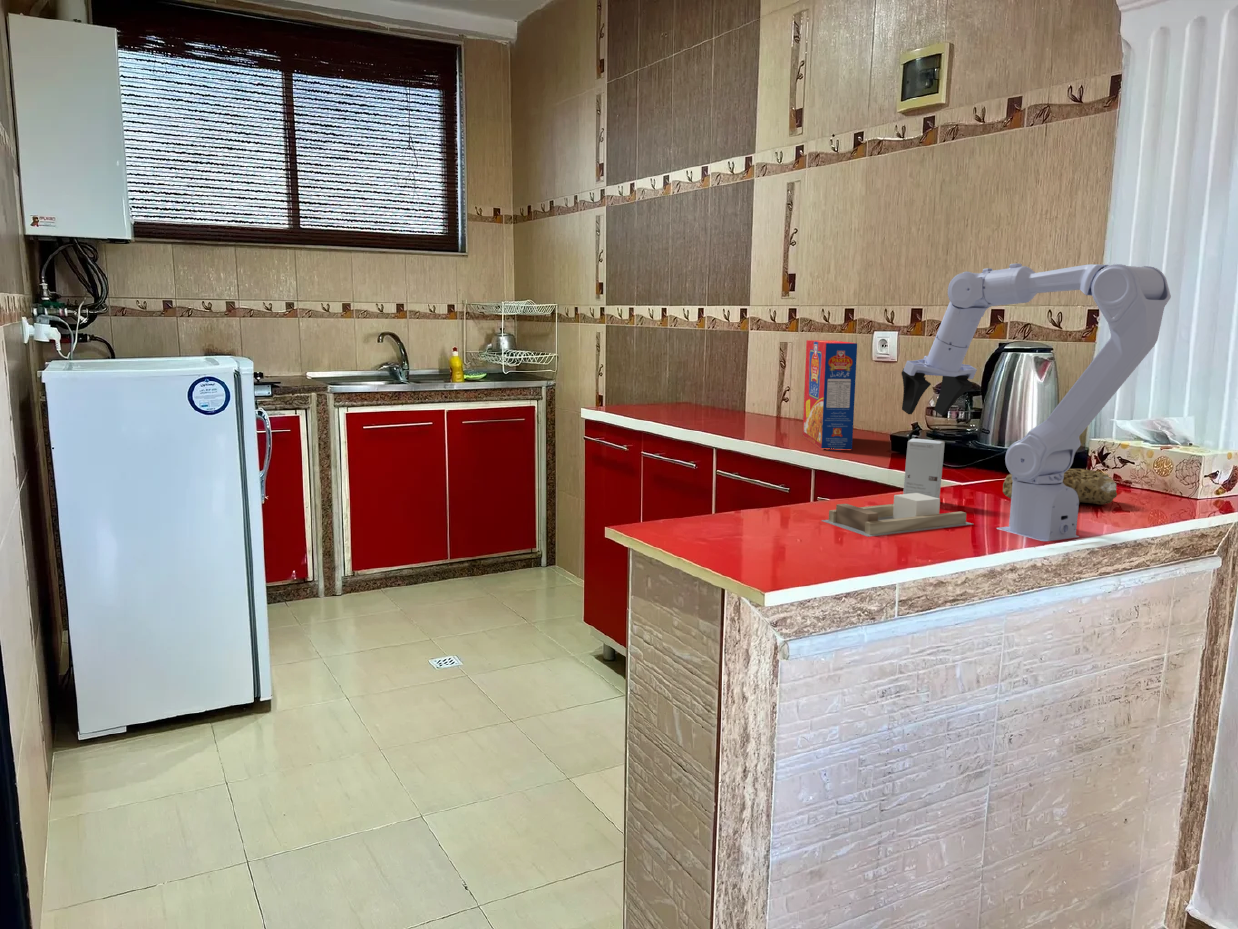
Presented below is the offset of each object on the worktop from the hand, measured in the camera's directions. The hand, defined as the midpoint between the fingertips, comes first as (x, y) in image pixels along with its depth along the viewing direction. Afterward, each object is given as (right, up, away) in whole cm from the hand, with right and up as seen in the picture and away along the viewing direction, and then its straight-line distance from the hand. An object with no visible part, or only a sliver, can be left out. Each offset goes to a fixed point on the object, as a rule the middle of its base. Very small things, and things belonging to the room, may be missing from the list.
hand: (923, 412), depth 158 cm
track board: (-8, -20, -10) cm, 23 cm away
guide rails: (-8, -20, -10) cm, 23 cm away
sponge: (+28, -17, +10) cm, 34 cm away
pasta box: (+3, -4, +89) cm, 89 cm away
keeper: (-4, -19, -8) cm, 21 cm away
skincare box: (+2, -17, +7) cm, 19 cm away
